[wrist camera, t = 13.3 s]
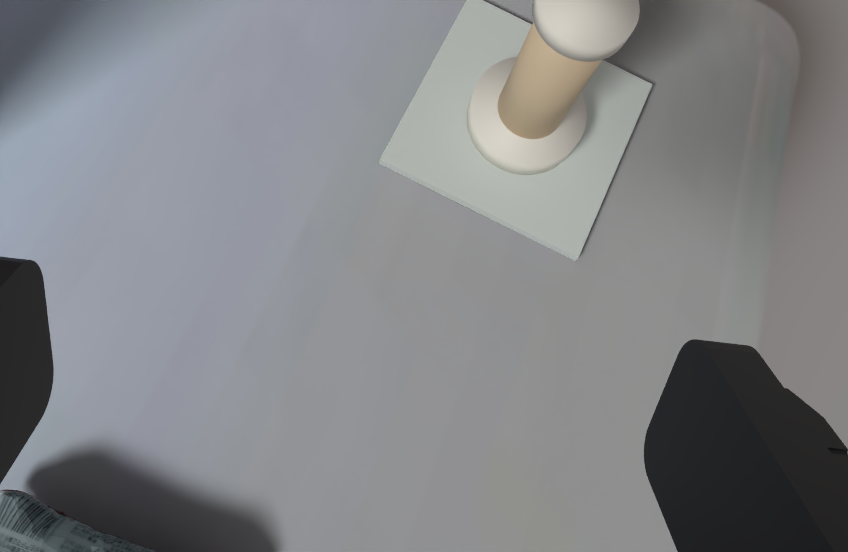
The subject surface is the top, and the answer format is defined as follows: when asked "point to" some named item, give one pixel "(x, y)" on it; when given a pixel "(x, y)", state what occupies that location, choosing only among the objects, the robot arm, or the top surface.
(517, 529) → the top surface
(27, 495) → the packaged food
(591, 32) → the stool
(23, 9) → the top surface
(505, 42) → the mat
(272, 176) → the top surface
